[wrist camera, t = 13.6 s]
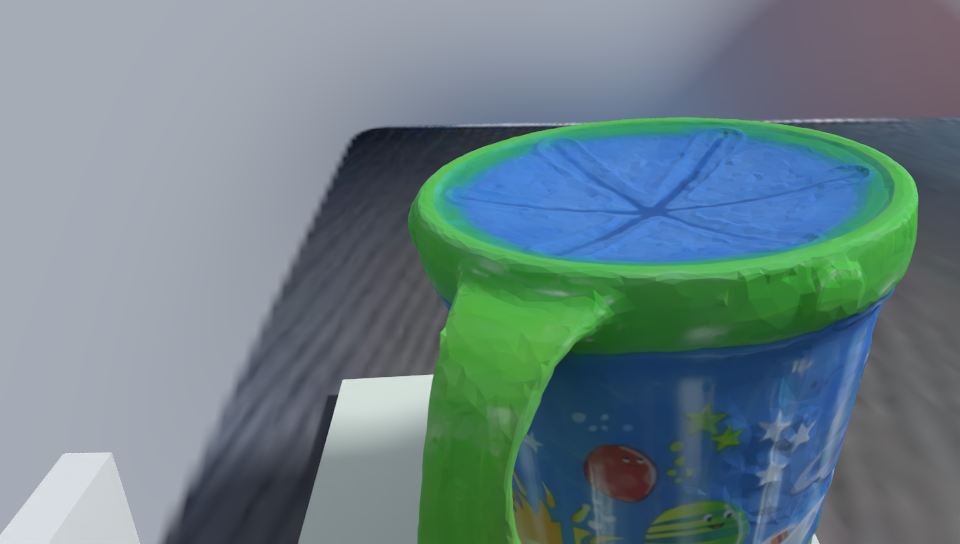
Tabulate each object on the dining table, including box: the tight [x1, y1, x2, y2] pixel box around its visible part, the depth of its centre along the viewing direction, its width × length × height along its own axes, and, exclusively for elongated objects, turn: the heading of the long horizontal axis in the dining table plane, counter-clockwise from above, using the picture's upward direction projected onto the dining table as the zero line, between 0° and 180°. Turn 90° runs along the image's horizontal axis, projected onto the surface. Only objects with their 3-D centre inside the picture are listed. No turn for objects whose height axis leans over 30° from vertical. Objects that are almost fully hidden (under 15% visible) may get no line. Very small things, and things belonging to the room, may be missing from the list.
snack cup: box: [408, 118, 918, 544], centre depth 21 cm, size 16×11×10 cm
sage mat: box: [298, 375, 819, 544], centre depth 24 cm, size 16×14×1 cm
